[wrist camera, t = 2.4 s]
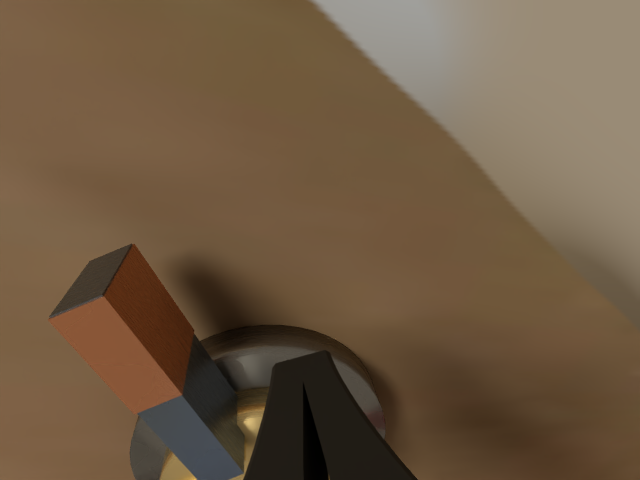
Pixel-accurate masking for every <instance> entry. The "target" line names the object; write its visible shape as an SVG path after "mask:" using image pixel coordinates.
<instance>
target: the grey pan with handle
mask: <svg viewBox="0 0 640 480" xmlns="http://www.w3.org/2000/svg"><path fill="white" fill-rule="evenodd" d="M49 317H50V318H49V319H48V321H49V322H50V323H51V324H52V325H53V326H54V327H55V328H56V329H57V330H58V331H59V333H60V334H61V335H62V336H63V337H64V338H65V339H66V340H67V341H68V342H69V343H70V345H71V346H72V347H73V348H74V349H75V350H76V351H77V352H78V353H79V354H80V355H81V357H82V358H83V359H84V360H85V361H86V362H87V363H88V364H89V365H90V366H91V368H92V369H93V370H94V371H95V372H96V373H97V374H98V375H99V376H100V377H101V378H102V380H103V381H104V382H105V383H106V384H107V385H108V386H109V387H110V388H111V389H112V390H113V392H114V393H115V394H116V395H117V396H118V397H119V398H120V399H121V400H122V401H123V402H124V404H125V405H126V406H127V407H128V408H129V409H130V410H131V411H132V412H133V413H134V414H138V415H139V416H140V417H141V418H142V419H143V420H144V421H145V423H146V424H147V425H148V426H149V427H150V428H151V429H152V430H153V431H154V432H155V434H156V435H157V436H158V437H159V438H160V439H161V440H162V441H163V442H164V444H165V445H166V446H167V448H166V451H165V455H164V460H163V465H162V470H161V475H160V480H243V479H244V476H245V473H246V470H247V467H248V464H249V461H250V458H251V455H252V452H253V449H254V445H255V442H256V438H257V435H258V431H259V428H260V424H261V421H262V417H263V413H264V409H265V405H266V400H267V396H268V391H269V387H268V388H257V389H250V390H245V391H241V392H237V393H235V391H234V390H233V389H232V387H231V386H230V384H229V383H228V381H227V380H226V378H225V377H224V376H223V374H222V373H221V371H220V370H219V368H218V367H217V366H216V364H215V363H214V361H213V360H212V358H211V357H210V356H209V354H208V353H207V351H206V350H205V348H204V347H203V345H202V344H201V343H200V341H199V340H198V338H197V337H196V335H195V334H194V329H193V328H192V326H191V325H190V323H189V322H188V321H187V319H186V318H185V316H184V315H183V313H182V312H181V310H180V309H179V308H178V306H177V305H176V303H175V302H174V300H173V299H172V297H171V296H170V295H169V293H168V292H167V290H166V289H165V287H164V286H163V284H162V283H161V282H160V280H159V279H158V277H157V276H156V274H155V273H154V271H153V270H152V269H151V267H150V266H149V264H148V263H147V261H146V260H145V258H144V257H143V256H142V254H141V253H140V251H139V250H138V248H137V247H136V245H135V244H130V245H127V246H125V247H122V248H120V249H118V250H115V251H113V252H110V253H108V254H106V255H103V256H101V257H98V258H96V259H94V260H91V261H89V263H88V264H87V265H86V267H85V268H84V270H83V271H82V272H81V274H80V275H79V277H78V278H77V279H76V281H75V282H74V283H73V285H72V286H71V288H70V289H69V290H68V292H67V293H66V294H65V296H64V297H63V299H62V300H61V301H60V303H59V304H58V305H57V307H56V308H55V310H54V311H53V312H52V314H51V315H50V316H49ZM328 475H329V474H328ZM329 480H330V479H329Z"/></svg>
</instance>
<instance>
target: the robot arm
mask: <svg viewBox="0 0 640 480" xmlns="http://www.w3.org/2000/svg"><path fill="white" fill-rule="evenodd" d="M328 474H329V475H328ZM329 479H330V480H418V479H417V478H416V477H415V476H414V475H413V474H412V473H411V471H410V470H409V469H408V468H407V467H406V466H405V465H404V463H403V462H402V461H401V460H400V459H399V457H398V456H397V455H396V454H395V453H394V451H393V450H392V449H391V448H390V446H389V445H388V444H387V443H386V441H385V440H384V439H383V438H382V436H381V435H380V434H379V432H378V431H377V430H376V428H375V427H374V426H373V424H372V423H371V422H370V420H369V419H368V417H367V416H366V415H365V413H364V412H363V410H362V409H361V407H360V406H359V405H358V403H357V402H356V400H355V399H354V397H353V396H352V394H351V393H350V391H349V389H348V388H347V386H346V384H345V383H344V381H343V379H342V377H341V376H340V374H339V372H338V370H337V368H336V366H335V364H334V361H333V359H332V356H331V353H330V352H328V351H326V350H322V351H319V352H315V353H311V354H308V355H304V356H300V357H297V358H293V359H289V360H286V361H282V362H278V363H275V365H274V366H273V368H272V373H271V380H270V386H269V391H268V396H267V400H266V405H265V409H264V413H263V417H262V421H261V424H260V428H259V431H258V435H257V438H256V442H255V445H254V449H253V452H252V455H251V458H250V461H249V464H248V467H247V470H246V473H245V476H244V479H243V480H329Z"/></svg>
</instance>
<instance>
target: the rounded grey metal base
mask: <svg viewBox="0 0 640 480" xmlns="http://www.w3.org/2000/svg"><path fill="white" fill-rule="evenodd" d="M200 343H201V344H202V345H203V347H204V348H205V350H206V351H207V353H208V354H209V356H210V357H211V358H212V360H213V361H214V363H215V364H216V366H217V367H218V368H219V370H220V371H221V373H222V374H223V376H224V377H225V378H226V380H227V381H228V383H229V384H230V386H231V387H232V389H233V390H234V391H235V393H237V392H241V391H245V390H250V389H257V388H268V387H269V386H270V380H271V373H272V368H273V366H274V365H275V363H278V362H282V361H286V360H289V359H293V358H297V357H300V356H304V355H308V354H311V353H315V352H319V351H322V350H326V351H328V352H330V353H331V356H332V359H333V361H334V364H335V366H336V368H337V370H338V372H339V374H340V376H341V377H342V379H343V381H344V383H345V384H346V386H347V388H348V389H349V391H350V393H351V394H352V396H353V397H354V399H355V400H356V402H357V403H358V405H359V406H360V407H361V409H362V410H363V412H364V413H365V415H366V416H367V417H368V419H369V420H370V422H371V423H372V424H373V426H374V427H375V428H376V430H377V431H378V432H379V434H380V435H381V436H382V438H383V439H384V438H385V419H384V415H383V411H382V408H381V405H380V402H379V400H378V397H377V394H376V392H375V389H374V386H373V383H372V381H371V378H370V376H369V374H368V372H367V370H366V368H365V366H364V365H363V364H362V362H361V361H360V359H359V358H358V357H357V356H356V355H355V354H354V353H353V352H352V351H351V350H349V349H348V348H347V347H345V346H344V345H342V344H341V343H340V342H338V341H336V340H334V339H332V338H330V337H328V336H326V335H323V334H320V333H318V332H315V331H312V330H308V329H303V328H299V327H292V326H284V325H260V326H249V327H243V328H238V329H233V330H229V331H226V332H222V333H219V334H216V335H213V336H211V337H208V338H206V339H204V340H201V341H200ZM166 448H167V446H166V445H165V444H164V442H163V441H162V440H161V439H160V438H159V437H158V436H157V435H156V434H155V432H154V431H153V430H152V429H151V428H150V427H149V426H148V425H147V424H146V423H145V421H144V420H143V419H142V418H141V417H140V416H138V420H137V423H136V427H135V430H134V433H133V437H132V440H131V447H130V462H131V467H132V471H133V474H134V477H135V479H136V480H160V475H161V470H162V465H163V460H164V455H165V451H166Z"/></svg>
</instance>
